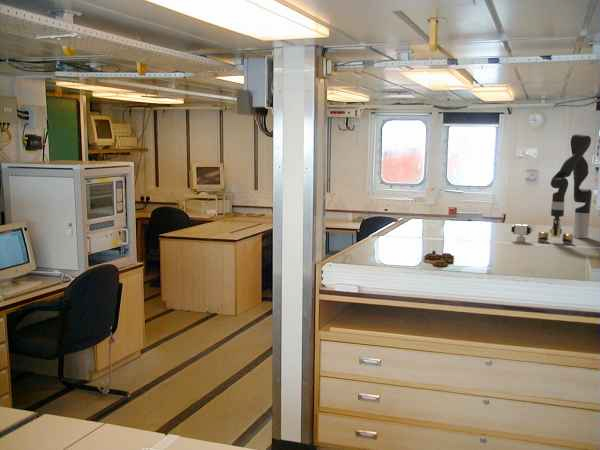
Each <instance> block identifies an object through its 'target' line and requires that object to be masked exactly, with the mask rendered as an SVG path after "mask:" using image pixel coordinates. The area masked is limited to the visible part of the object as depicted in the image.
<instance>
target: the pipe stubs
mask: <svg viewBox="0 0 600 450" xmlns="http://www.w3.org/2000/svg"><path fill="white" fill-rule="evenodd" d="M549 233H550V230H549V231H548V230H547V232H545V231H544V232H543V231H539V232H538V236H537V243H542V242H546V243H548V241H549V236H550V234H549ZM573 241H574V237H573V234H571V233H565V232H562V241H561V242H562V243H563V245H567V246H568V245H569V246H572V245H573V243H574V242H573Z"/></svg>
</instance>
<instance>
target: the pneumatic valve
mask: <svg viewBox="0 0 600 450" xmlns="http://www.w3.org/2000/svg"><path fill="white" fill-rule="evenodd" d="M532 230H533V227H532V226H530V225H529V224H523V223H519V224H518V223H517V224H516V223H515V224H513V225H512V226H511V230H510V231H511V233H513V235H517V236H516V241H517V242H518V243H524V242H526V237H525V236H529V235H530V234H532V232H533V231H532Z"/></svg>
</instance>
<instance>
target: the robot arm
mask: <svg viewBox="0 0 600 450" xmlns="http://www.w3.org/2000/svg"><path fill="white" fill-rule="evenodd" d="M591 144H592V138H591V136H590V135H584V134H581V133H574V134H572V136H571V137H570V149H571V156H569V157H568V158H567V159H565V161H564V162H563V164H562V165H561V167H560V169H559V170H558V172H556V173H555V175H554V176H553V177H552V178H551V180H550V186H551V188H553V189H558V190H557V192H556V191H555V192H553V193H552V198H551V199H552V202H551V207H550V208H551V209H550V216H551V217H553V220H552V221H553V222H552V223H553V224H552V226H553V229H554V234H553V235H554V236H557V231H558V227H559V226H561V217H564V215H565V214H564V213H565V196H566V193H567V191H568V187H569V181H568V179H567V178H568V177H570V176H571V175H572V174H573V201H574V203H580V204H583V203H584V205H582V206H578V207H576V208H575V209H574V221H573V232H572V233H573V238H576V239H589V231H590V230H589V228H590V214H591V204H592V198H593V197H592V195H593V193H592V190H591V189H589V188H587V189H585V188H580V187H581V186H582V184H583V182H584V181H585V180H586V179H587V178H588V175H589V164H588V161H587V160H586V159H585V157H584V155H585V154H586V152H587V151H588V149H589V148H590V146H591ZM555 226H557V227H555Z"/></svg>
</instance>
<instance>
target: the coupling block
mask: <svg viewBox="0 0 600 450" xmlns="http://www.w3.org/2000/svg"><path fill="white" fill-rule="evenodd" d="M555 227H557V226H555ZM562 231H563V229H562V226H561V225H560V226H559V227H558V231H557V236H554V235H553V234H554V229H553V225H551V227H550V230H549V233H550V238H557V239H558V238H561V234H562V235H563V232H562Z"/></svg>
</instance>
